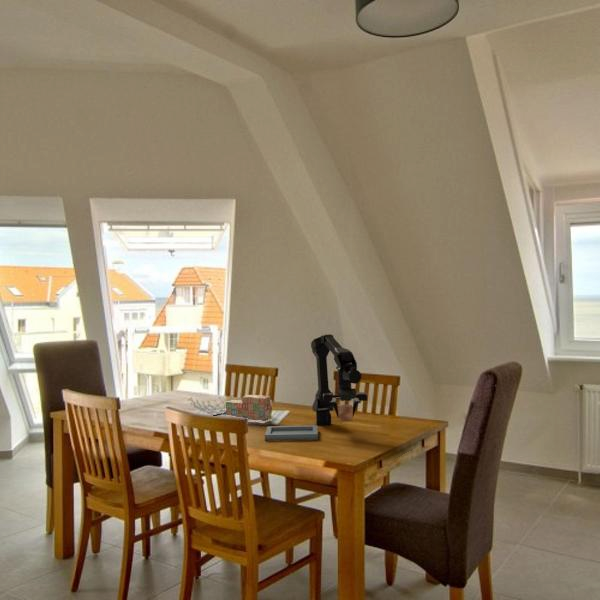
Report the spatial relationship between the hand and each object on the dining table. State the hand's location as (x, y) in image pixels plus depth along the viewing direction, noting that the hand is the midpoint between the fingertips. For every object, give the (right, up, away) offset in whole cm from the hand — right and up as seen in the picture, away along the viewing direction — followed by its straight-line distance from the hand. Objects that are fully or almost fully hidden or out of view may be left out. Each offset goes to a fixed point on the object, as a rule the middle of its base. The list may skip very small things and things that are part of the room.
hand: (345, 417), depth 254 cm
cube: (0, -1, 0) cm, 1 cm away
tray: (-23, -8, 0) cm, 24 cm away
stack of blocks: (-44, -9, +33) cm, 56 cm away
